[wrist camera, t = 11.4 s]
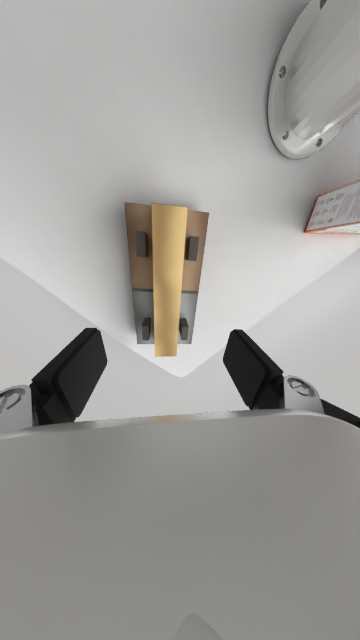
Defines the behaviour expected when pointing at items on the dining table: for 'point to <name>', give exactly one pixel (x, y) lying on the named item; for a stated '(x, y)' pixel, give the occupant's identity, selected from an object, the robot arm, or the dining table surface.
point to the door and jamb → (143, 270)
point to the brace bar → (167, 274)
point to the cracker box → (337, 211)
